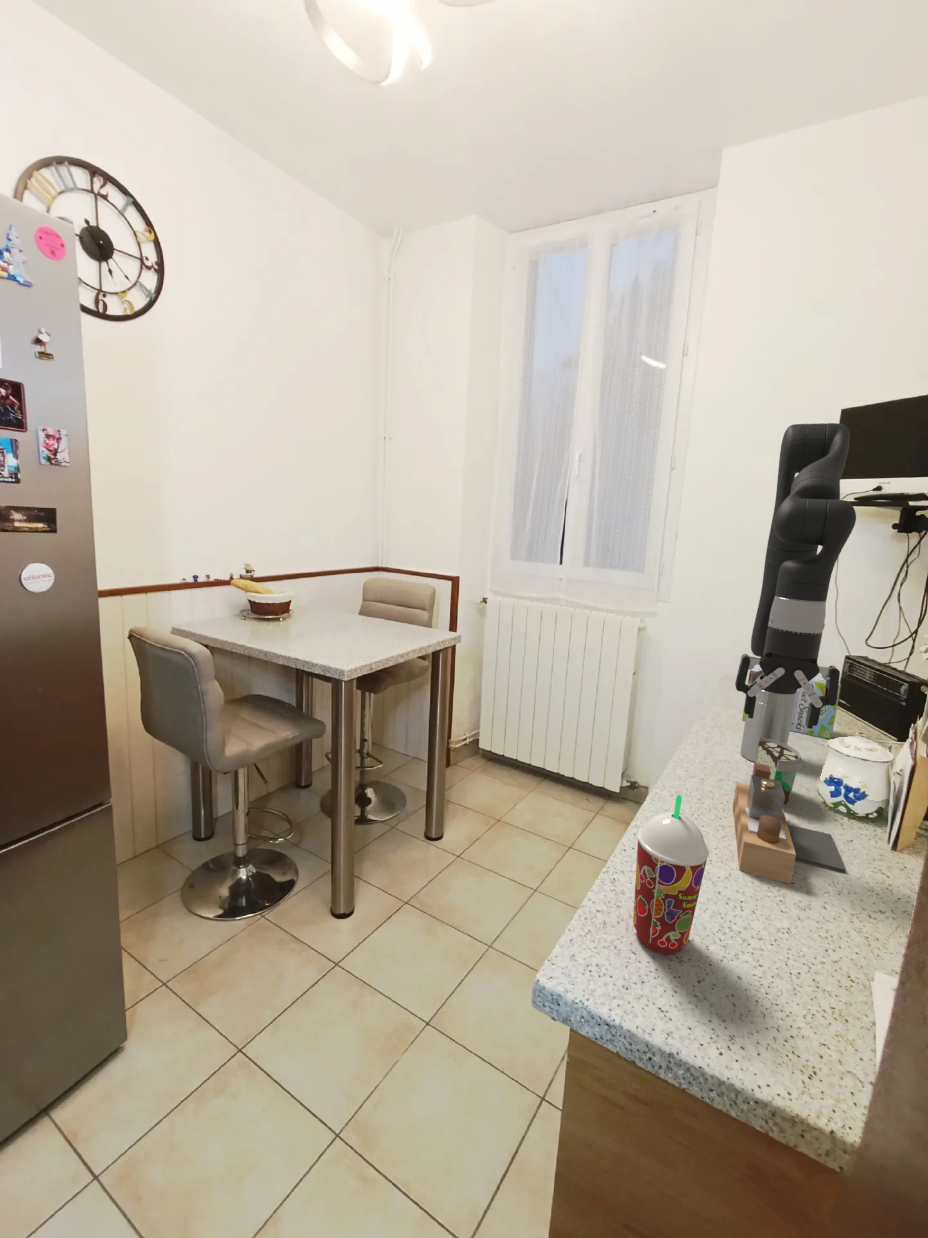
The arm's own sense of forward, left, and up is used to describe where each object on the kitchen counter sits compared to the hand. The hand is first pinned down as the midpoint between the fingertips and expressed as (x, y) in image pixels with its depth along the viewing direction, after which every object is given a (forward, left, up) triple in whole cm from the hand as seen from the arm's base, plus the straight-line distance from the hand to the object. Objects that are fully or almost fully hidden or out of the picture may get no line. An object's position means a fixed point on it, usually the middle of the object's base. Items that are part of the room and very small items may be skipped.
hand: (778, 722), depth 90 cm
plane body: (0, 0, -22) cm, 22 cm away
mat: (-2, +9, -22) cm, 23 cm away
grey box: (0, 0, -16) cm, 16 cm away
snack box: (-67, +12, -22) cm, 72 cm away
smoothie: (+32, -14, -22) cm, 41 cm away
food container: (-20, +5, -22) cm, 30 cm away
